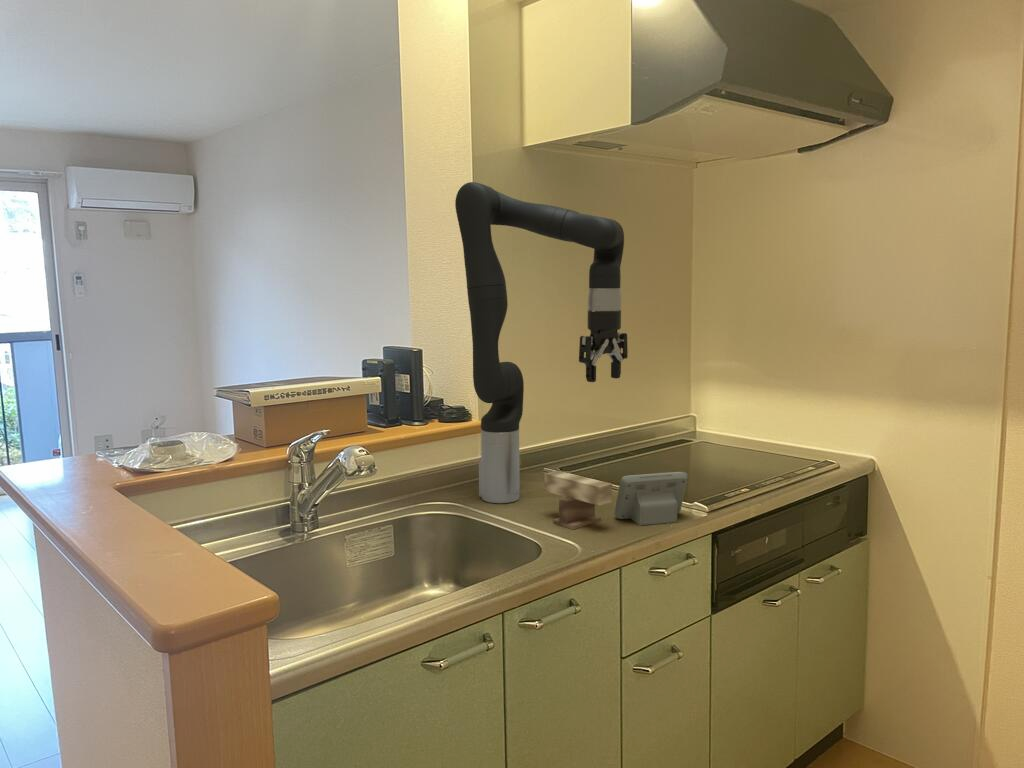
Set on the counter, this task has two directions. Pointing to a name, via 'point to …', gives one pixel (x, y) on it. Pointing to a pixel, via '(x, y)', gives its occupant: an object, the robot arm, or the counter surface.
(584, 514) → the walnut ridge
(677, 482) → the digital clock
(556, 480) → the beige long bar
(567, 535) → the counter surface
